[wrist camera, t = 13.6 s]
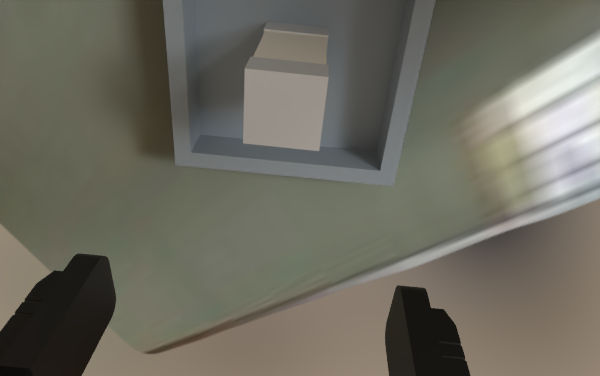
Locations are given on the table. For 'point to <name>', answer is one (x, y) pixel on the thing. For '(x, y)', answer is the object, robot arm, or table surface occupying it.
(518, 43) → the table surface
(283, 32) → the block
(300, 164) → the parts tray
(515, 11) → the table surface
